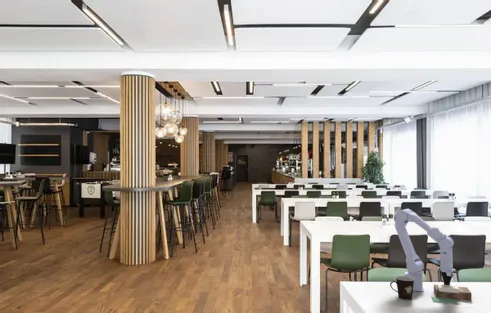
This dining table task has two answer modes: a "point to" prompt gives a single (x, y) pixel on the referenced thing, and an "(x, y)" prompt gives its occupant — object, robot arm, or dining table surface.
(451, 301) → the mat
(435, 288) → the brown flat block
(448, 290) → the upright cream block
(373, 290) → the dining table surface
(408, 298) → the coffee mug
